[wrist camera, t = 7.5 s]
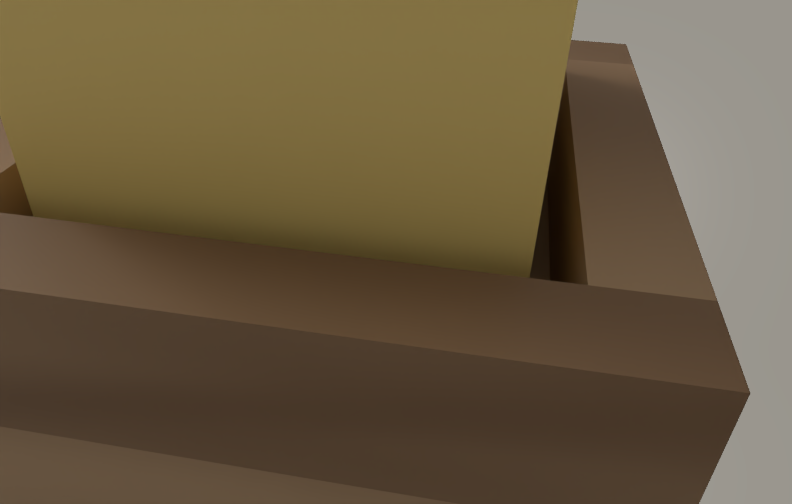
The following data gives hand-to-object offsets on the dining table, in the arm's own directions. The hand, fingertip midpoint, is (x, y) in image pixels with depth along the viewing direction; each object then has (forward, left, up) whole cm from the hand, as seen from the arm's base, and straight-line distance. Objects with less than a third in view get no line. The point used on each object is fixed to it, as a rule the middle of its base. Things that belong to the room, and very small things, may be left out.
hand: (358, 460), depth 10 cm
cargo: (+1, -1, +4) cm, 5 cm away
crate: (+1, -1, -6) cm, 6 cm away
